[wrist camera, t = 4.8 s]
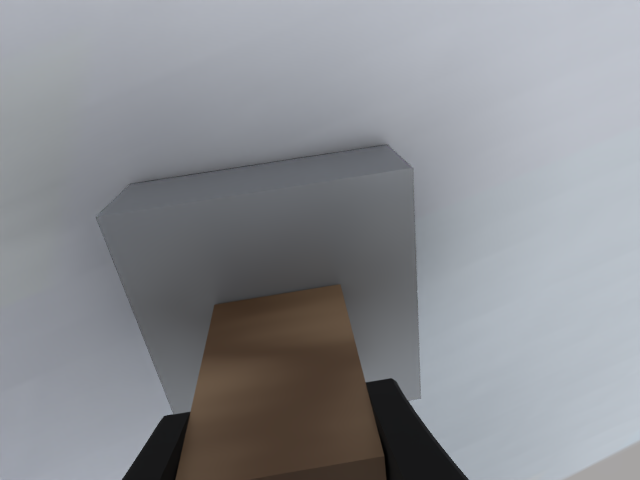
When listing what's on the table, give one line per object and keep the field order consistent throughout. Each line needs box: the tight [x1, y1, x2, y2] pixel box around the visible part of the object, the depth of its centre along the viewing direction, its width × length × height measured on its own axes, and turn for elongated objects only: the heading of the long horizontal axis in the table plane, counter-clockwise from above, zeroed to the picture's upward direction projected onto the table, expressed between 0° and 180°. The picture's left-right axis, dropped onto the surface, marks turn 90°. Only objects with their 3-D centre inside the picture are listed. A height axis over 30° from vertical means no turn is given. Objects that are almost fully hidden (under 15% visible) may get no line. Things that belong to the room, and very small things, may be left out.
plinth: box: [96, 145, 421, 414], centre depth 15 cm, size 9×9×3 cm
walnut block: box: [175, 284, 386, 480], centre depth 11 cm, size 4×4×6 cm
